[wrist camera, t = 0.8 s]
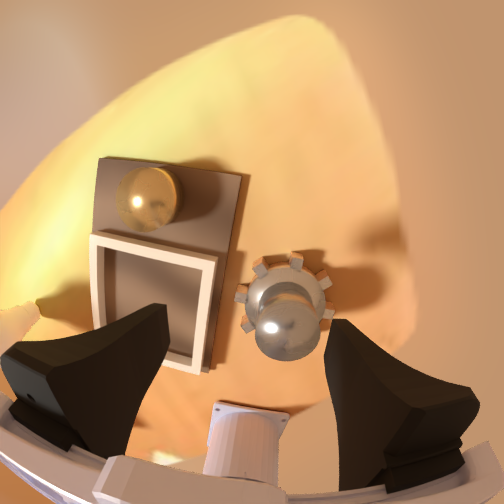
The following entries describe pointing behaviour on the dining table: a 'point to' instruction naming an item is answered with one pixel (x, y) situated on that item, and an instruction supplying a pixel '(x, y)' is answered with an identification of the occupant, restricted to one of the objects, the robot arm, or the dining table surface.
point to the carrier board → (173, 235)
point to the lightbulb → (16, 324)
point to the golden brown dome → (149, 198)
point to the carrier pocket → (163, 254)
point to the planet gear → (285, 307)
